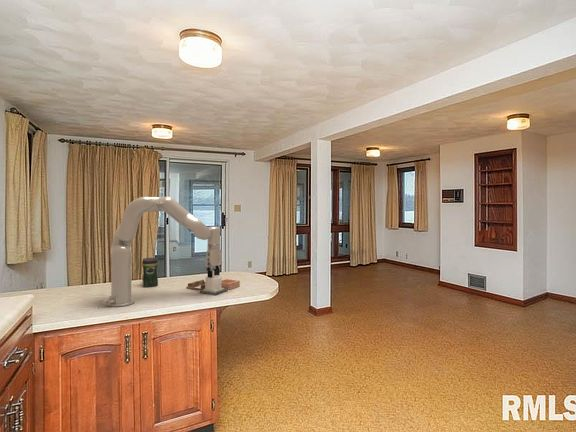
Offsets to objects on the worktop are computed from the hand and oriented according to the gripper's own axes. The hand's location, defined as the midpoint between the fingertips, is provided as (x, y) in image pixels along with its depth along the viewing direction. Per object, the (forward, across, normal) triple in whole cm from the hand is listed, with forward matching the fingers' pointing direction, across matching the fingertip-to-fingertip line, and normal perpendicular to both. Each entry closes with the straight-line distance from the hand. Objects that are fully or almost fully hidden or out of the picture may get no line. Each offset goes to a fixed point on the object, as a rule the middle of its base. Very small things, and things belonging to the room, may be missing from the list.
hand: (213, 276), depth 205 cm
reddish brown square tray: (+10, +14, 0) cm, 17 cm away
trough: (+10, +7, +15) cm, 19 cm away
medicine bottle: (+8, 0, 0) cm, 8 cm away
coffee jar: (+10, -7, +47) cm, 48 cm away
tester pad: (+9, 0, 0) cm, 9 cm away
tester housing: (+10, 0, 0) cm, 10 cm away
